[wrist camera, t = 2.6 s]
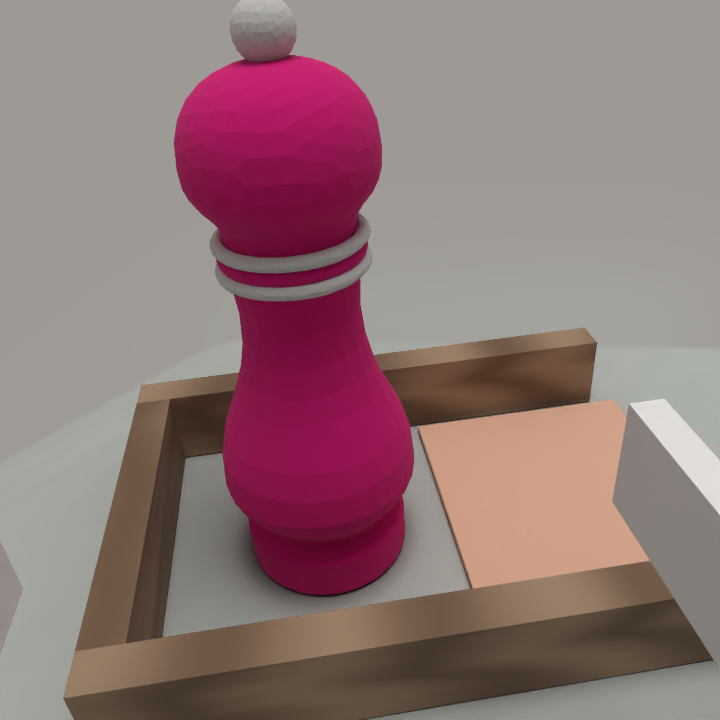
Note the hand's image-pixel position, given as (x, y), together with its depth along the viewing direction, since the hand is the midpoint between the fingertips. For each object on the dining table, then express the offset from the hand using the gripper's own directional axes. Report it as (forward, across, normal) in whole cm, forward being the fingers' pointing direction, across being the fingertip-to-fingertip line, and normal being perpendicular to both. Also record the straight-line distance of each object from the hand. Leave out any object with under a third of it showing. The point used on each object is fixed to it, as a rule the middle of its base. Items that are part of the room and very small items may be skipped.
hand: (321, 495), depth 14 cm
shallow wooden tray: (+10, +3, -11) cm, 15 cm away
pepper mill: (+10, 0, -12) cm, 15 cm away
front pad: (+10, +10, -11) cm, 18 cm away
